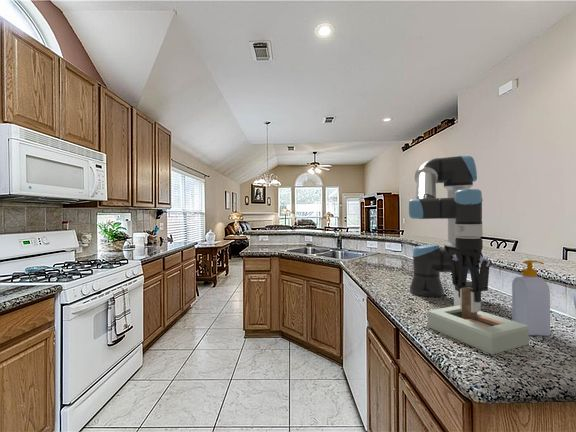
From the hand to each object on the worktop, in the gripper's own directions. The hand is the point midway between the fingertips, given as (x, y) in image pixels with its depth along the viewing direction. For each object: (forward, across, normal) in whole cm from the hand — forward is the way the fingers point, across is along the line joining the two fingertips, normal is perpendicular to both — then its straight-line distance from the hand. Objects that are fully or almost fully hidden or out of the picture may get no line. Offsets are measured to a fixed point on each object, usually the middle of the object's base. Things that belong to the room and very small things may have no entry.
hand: (469, 309), depth 96 cm
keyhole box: (+8, +1, 0) cm, 8 cm away
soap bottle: (+8, +6, +20) cm, 23 cm away
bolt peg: (+7, 0, 0) cm, 7 cm away
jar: (+8, -13, +15) cm, 21 cm away
